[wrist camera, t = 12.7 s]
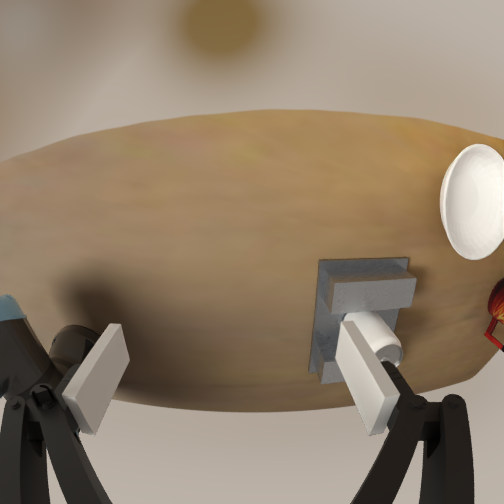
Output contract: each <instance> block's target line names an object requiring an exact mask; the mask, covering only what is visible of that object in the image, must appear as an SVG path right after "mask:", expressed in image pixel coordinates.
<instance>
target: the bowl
mask: <svg viewBox="0 0 504 504" xmlns="http://www.w3.org/2000/svg"><path fill="white" fill-rule="evenodd" d="M440 212H441V218H442V222H443V225H444V228H445V230H446V232H447V236H448V239H449V241H450V243H451V245H452V247H453V248H454V249H455V250H456V251H457V253H458V254H460V255H461V256H463V257H464V258H467V259H470V260H479V259H482V258H485V257H487V256H488V255H490V254H491V253H492V252H493V251H494V250H496V249H497V247H498V246H499V245H500V243H501V242H502V241H503V239H504V160H503V158H502V157H501V156H500V155H499V154H498V152H497V151H495V150H494V149H493V148H491V147H490V146H487V145H484V144H474V145H471V146H468V147H467V148H466V149H464V150H463V151H462V152H461V153H460V154H459V155H458V156H457V157H456V159H455V160H454V161H453V162H452V163H451V164H450V166H449V168H448V170H447V171H446V174H445V176H444V179H443V183H442V187H441V193H440Z"/></svg>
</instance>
